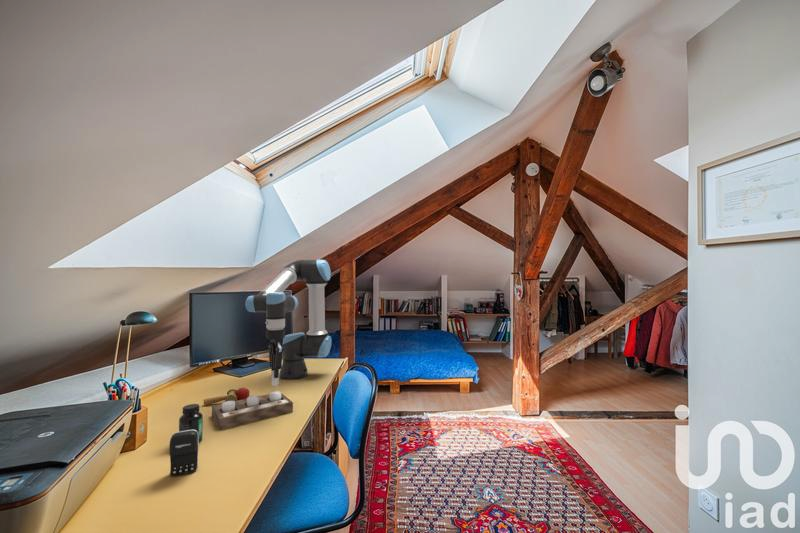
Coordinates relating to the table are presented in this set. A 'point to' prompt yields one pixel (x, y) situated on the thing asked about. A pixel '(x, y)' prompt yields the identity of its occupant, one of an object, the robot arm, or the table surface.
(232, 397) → the kendama
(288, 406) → the button board
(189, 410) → the supplement bottle
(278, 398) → the button
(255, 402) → the button middle
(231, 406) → the button
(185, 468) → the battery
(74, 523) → the table surface
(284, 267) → the robot arm
